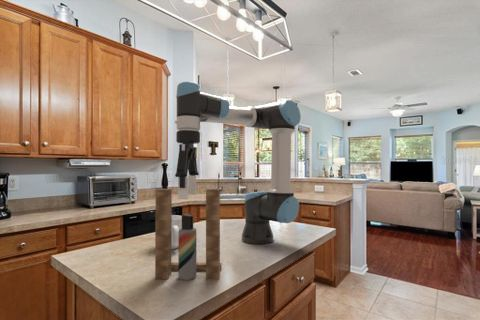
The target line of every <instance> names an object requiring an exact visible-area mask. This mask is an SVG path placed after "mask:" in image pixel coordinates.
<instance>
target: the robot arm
mask: <svg viewBox="0 0 480 320" xmlns="http://www.w3.org/2000/svg"><path fill="white" fill-rule="evenodd" d="M175 97H176V120H175V121H174V123H175V125H176V130H177V131H176V132H175V133H176V134H175V135H176V143H177V144H179V145H178V146H179V148H178V156H177V157H178V158H177V165H176V172H175V176H174V177H175V178H177V182H178V183H177V186H178V187H177V191H178V192H177V196H178V197H177V199H178V200H188V198H189V195H197V176H199V174H200V173H199V172H198V171H199V170H198V163H197V161H198V160H197V148H196V147H195V146H194V145H195V144H196V145H197V144H199V143H200V142H201V132H200V130H201V123H213V124H214V123H215V124H216V123H217V124H227V125H228V124H229V125H231V124H232V125H243V126H245V127H246V128H253V129H263V130H268V132H269V133H270V134H271V164H270V165H271V171H270V172H271V173H270V175H271V177H270V188H269V189H268V190H266V191H265V190H264V191H255V192H247V193H246V194H245V197H244V199H245V200H244V212H245V213H244V218H245V223H244V227H243V230H242V233H241V240H242V242H243V243H246V244H252V245H265V244H270V243H272V242H273V241H274V233H273V231H272V227H271V225H270V223H271V221H272V222H275V223H276V222H277V223H280V224H291V223H292V222H293V221H295V220H296V218H297V216H298V215H299V210H300V202H299V200H298V198H297V197H296V196H295V193H294V191H293V189H292V188H291V180H292V179H291V171H292V170H291V169H292V167H291V166H292V165H291V164H292V135H293V134H294V132H295V130H296V126H298V125H299V124H300V122H301V118H302V117H301V110H300V109H299V106H298V105H297V103H296V102H295V101H293V100H291V99H285V100H284V99H283V100H279V101H275V102H271V103H270V102H269V103H266V104H262V105H257V106H246V107H239V106H238V107H237V106H233V105H230V102H229V100H228V99H227V98H225V97H223V96H220V95H215V94H210V93H205V92H202V91H201V86H200V84H199V83H197V82H194V81H183V82H182V81H181V82H179V83H178V84H177V88H176V95H175Z"/></svg>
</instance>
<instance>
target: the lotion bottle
mask: <svg viewBox="0 0 480 320" xmlns="http://www.w3.org/2000/svg"><path fill="white" fill-rule="evenodd" d="M181 216H182V228H181V229H179V237H178V247H177V248H178V259H177V260H178V272H177V273H178V278H179V279H180V280H183V281H190V280H193V279H195V278H197V271H196V263H197V228H195V227H194V220H195V219H194V218H195V217H194V215H193V214H191V213H183V214H182V215H181Z"/></svg>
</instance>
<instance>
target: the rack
mask: <svg viewBox="0 0 480 320" xmlns="http://www.w3.org/2000/svg"><path fill="white" fill-rule="evenodd" d="M172 190H173V188H157V189H155V212H154V213H155V215H154V217H155V222H154V223H155V224H154V225H155V229H154V230H155V233H154V234H155V236H154V237H155V239H154V243H155V247H154V248H155V250H154V251H155V254H154V256H155V257H154V259H155V264H154V269H155V270H154V271H155V272H154V273H155V274H154V276H155V277H154V279H155V280H168V279H169V278H170V277H171V276H172V271H178V262H172V250H173V249H172V215H173V214H172V213H173V212H172V210H173V209H172V206H173V203H172V199H173V198H172V197H173V196H172V195H173V194H172V192H173V191H172ZM197 271H203V272H205V280H214V281H215V280H219V279H220V277H221V276H220V275H221V271H222V262H221V189H220V188H207V189H205V262H196V272H197Z"/></svg>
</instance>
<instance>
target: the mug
mask: <svg viewBox="0 0 480 320" xmlns="http://www.w3.org/2000/svg"><path fill="white" fill-rule="evenodd" d="M182 216H183V215H178V214H177V215H176V214H172V250H174V249H177V248H178V237H179V229H181V228H182Z"/></svg>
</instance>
